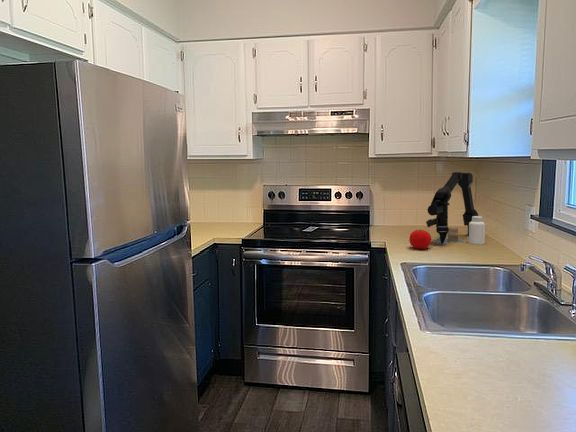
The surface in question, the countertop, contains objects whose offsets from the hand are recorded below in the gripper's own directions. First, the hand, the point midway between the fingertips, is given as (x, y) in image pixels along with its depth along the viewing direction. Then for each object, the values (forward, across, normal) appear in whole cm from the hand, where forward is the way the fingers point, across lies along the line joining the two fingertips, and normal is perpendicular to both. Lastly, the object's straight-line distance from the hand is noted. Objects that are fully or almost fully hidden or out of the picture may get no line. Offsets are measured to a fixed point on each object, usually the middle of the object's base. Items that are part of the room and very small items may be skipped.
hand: (441, 242), depth 256 cm
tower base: (0, -8, +6) cm, 10 cm away
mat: (+1, -8, +6) cm, 10 cm away
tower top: (-3, -8, +6) cm, 11 cm away
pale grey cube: (+1, 0, 0) cm, 1 cm away
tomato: (+1, +16, -11) cm, 19 cm away
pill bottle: (+1, -3, +18) cm, 18 cm away
